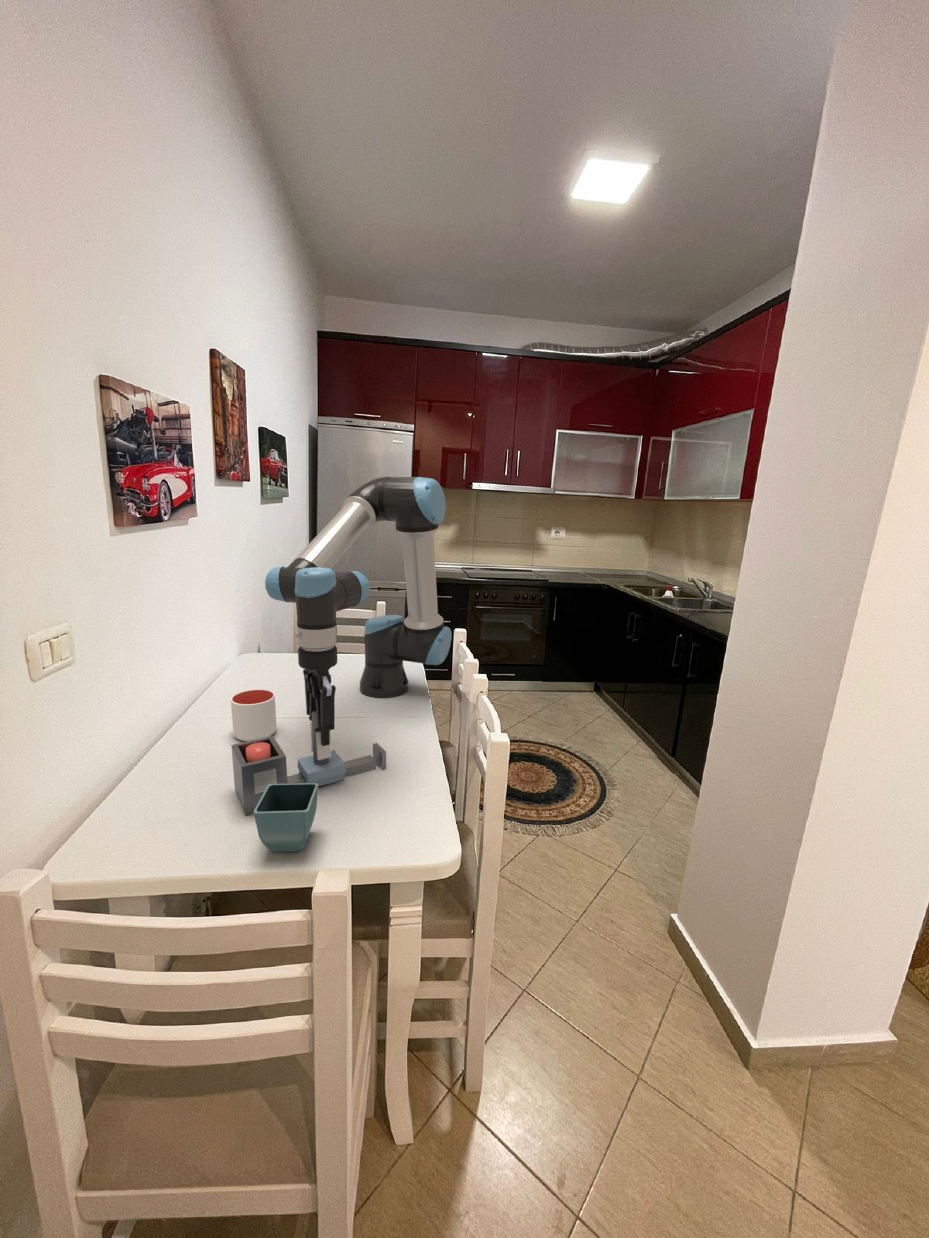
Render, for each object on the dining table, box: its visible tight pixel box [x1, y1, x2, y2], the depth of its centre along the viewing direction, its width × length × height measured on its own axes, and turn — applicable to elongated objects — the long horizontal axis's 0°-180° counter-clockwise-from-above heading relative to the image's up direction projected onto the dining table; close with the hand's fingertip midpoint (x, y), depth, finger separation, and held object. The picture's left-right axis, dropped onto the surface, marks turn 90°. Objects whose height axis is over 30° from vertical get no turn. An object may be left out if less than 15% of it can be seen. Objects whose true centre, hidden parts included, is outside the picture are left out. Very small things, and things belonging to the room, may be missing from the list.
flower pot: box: [252, 783, 319, 853], centre depth 88 cm, size 9×9×9 cm
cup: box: [230, 689, 278, 742], centre depth 127 cm, size 10×10×10 cm
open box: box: [230, 735, 288, 816], centre depth 101 cm, size 8×10×10 cm
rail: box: [287, 742, 387, 784], centre depth 110 cm, size 22×5×4 cm, turn 123°
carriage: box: [296, 710, 346, 787], centre depth 107 cm, size 8×7×15 cm
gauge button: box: [246, 742, 271, 763], centre depth 100 cm, size 4×4×5 cm
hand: (321, 753), depth 107 cm, fingers closed on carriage, 3 cm apart
